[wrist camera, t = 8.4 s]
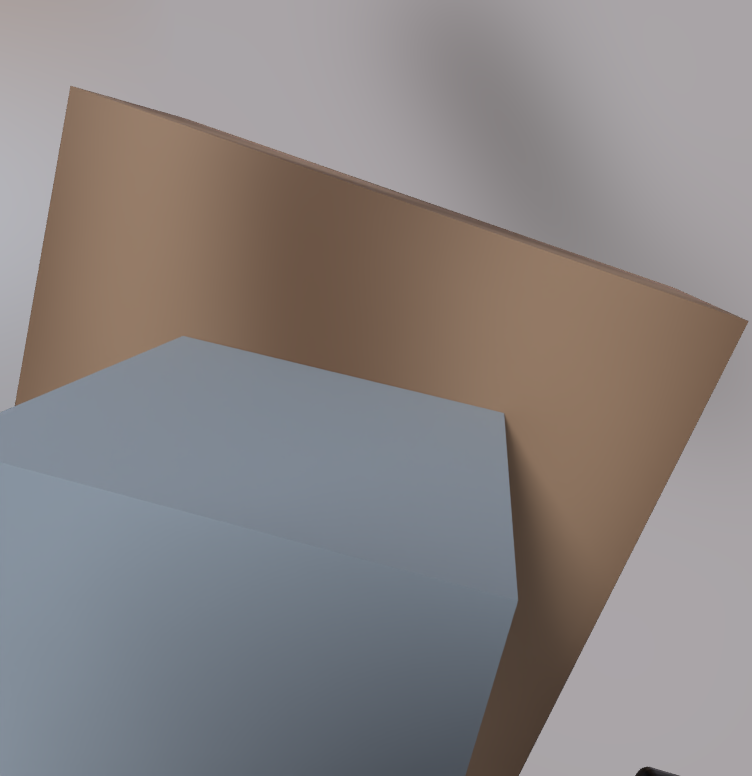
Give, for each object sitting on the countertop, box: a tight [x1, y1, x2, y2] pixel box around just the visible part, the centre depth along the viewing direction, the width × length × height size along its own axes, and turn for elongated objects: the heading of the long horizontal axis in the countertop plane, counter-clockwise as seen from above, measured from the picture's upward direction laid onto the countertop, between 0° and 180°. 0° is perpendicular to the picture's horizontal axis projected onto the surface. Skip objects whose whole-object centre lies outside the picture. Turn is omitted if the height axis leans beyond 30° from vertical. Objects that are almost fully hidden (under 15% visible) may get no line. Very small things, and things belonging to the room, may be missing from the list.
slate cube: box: [0, 336, 518, 776], centre depth 9 cm, size 5×5×5 cm
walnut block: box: [15, 86, 748, 776], centre depth 13 cm, size 10×10×4 cm
